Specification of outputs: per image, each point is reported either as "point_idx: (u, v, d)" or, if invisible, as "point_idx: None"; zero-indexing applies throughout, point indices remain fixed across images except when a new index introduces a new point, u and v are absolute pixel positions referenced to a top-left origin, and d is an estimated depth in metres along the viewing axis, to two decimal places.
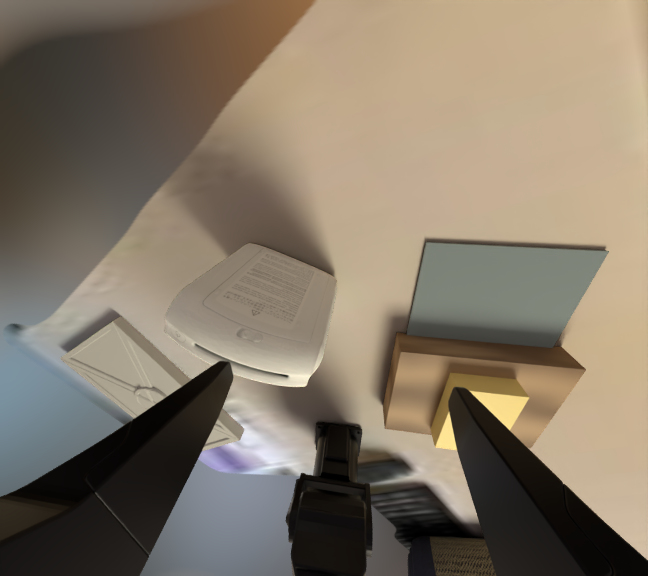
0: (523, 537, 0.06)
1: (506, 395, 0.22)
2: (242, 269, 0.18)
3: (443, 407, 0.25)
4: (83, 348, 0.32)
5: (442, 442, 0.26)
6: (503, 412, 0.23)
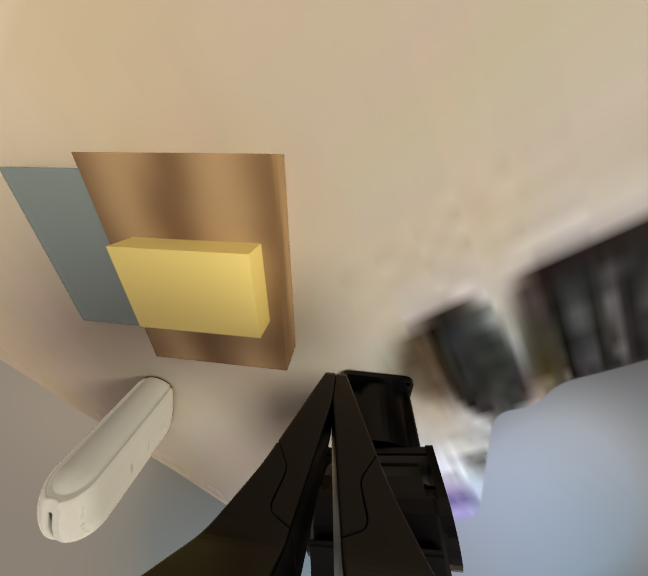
0: (335, 506, 0.06)
1: (119, 273, 0.16)
2: None
3: None
4: None
5: (245, 330, 0.16)
6: (147, 270, 0.15)
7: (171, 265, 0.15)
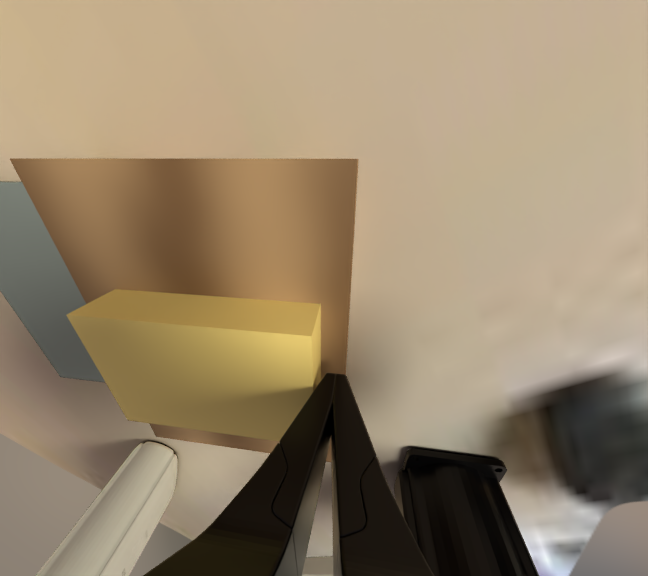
0: (335, 505, 0.06)
1: (91, 353, 0.10)
2: None
3: None
4: None
5: None
6: (136, 350, 0.09)
7: (175, 345, 0.09)
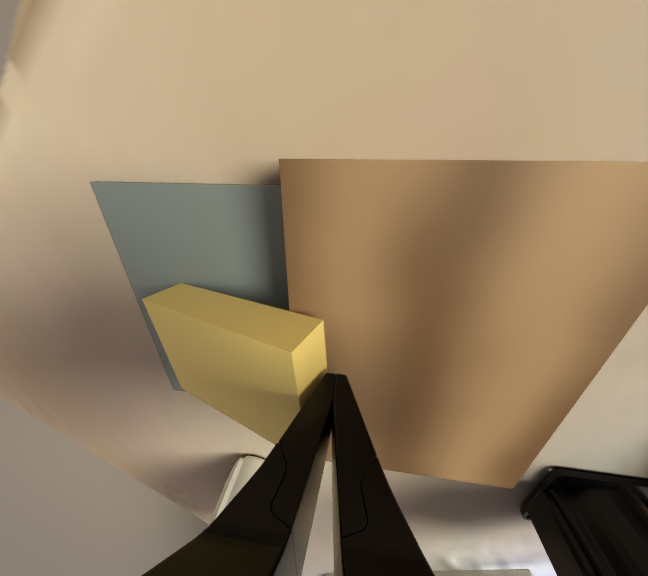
0: (335, 505, 0.06)
1: (157, 330, 0.13)
2: None
3: None
4: None
5: None
6: (179, 334, 0.11)
7: (199, 336, 0.10)
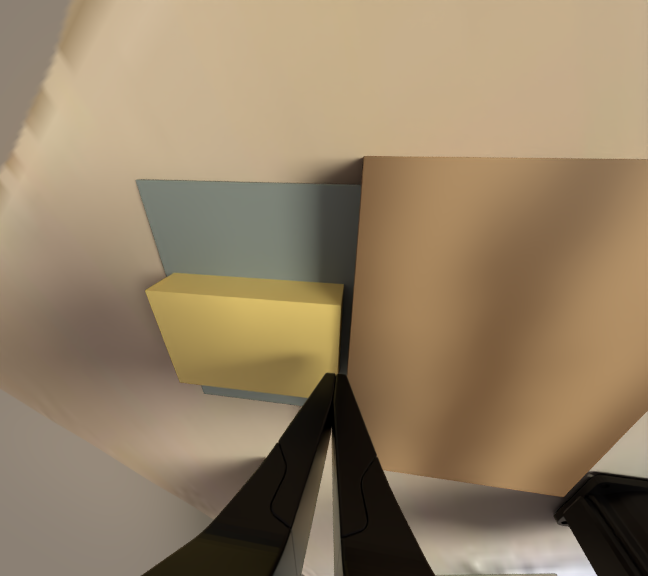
0: (335, 506, 0.06)
1: (159, 323, 0.12)
2: None
3: None
4: None
5: None
6: (198, 319, 0.12)
7: (231, 315, 0.11)
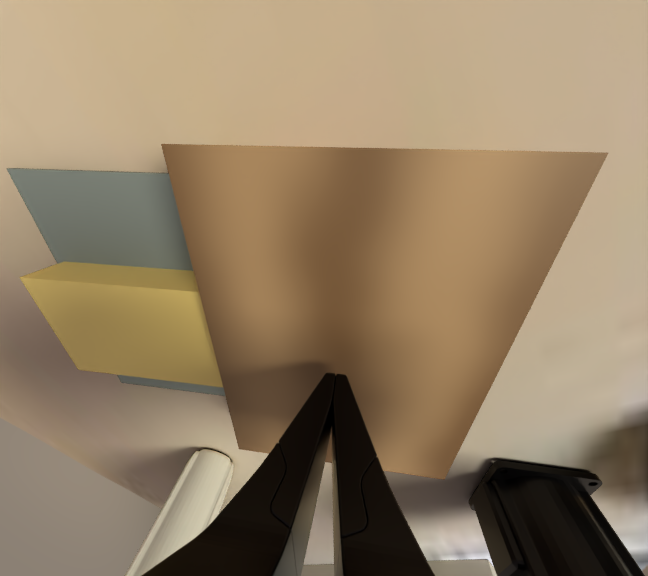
0: (335, 506, 0.06)
1: (42, 310, 0.12)
2: None
3: None
4: None
5: (205, 378, 0.13)
6: (76, 306, 0.12)
7: (105, 302, 0.11)
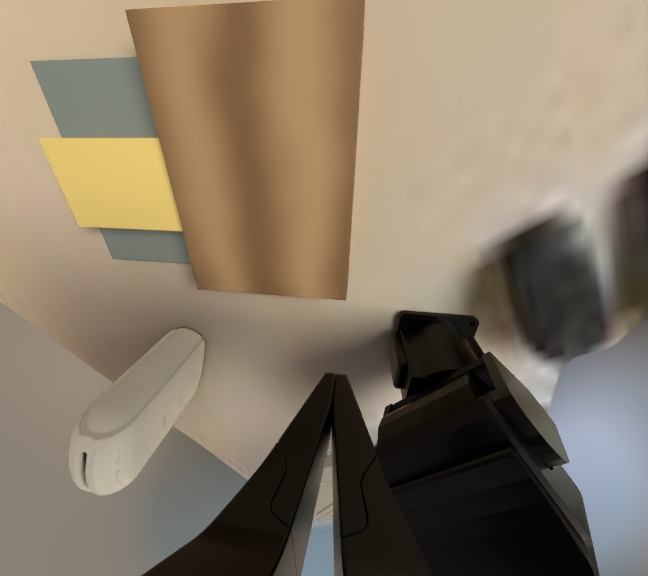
0: (335, 506, 0.06)
1: (53, 167, 0.17)
2: None
3: None
4: None
5: (169, 223, 0.18)
6: (77, 161, 0.17)
7: (96, 154, 0.17)
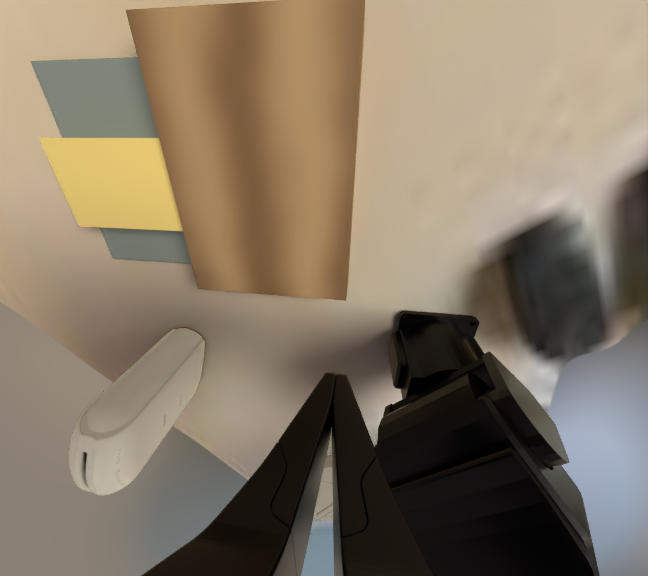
0: (335, 505, 0.06)
1: (53, 167, 0.17)
2: None
3: None
4: None
5: (169, 223, 0.18)
6: (77, 161, 0.17)
7: (96, 154, 0.17)
